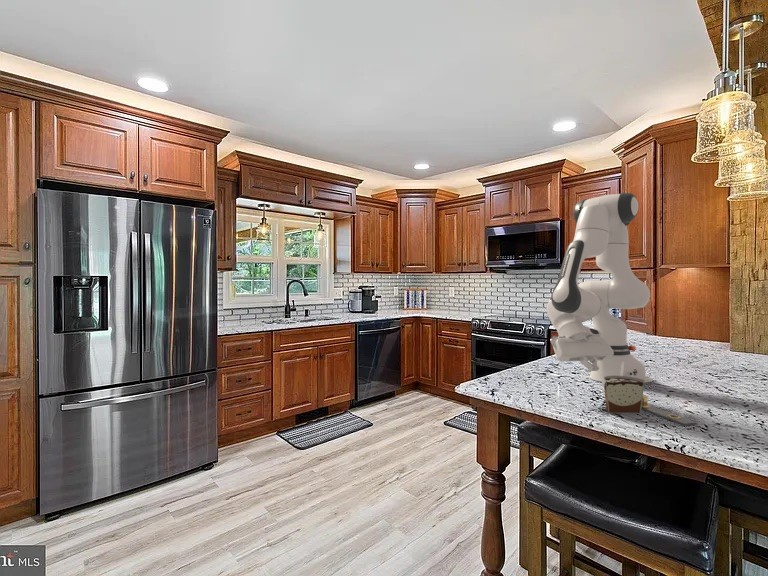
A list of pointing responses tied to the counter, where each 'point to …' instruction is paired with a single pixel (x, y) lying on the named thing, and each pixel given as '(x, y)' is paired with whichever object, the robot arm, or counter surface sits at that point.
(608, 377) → the food container
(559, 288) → the robot arm
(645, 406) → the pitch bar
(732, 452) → the counter surface
